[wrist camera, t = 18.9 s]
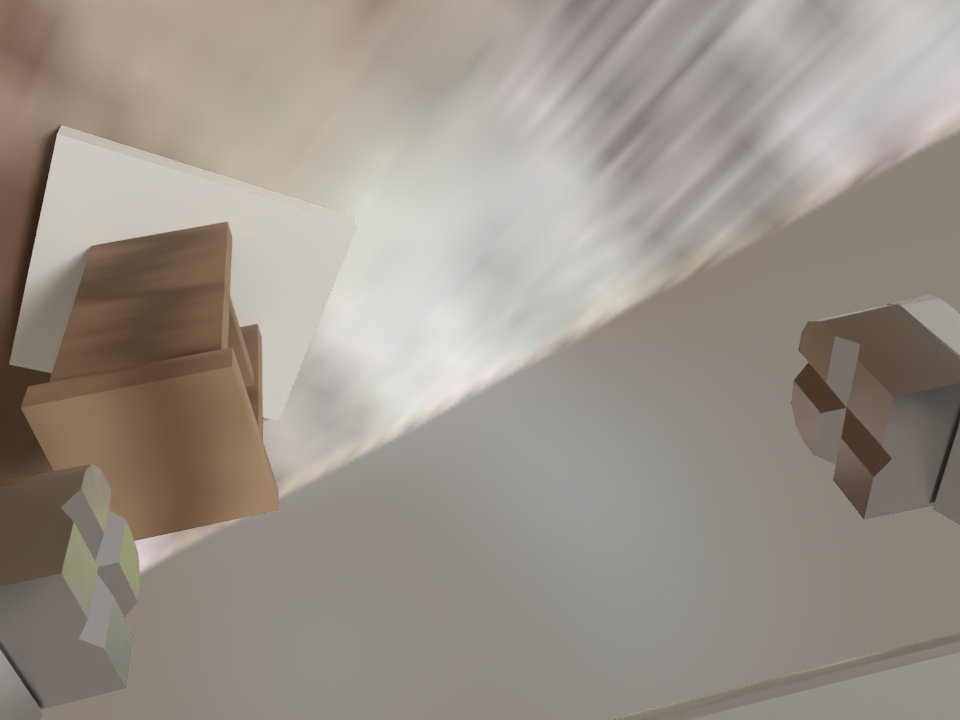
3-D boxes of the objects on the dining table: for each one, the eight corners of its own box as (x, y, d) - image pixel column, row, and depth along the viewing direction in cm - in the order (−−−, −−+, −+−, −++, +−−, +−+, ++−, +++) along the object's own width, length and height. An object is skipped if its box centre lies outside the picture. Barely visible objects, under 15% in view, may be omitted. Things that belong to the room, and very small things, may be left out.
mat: (13, 352, 43) (9, 364, 42) (61, 125, 37) (57, 133, 36) (278, 409, 48) (278, 420, 47) (354, 216, 42) (356, 226, 41)
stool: (129, 367, 43) (94, 549, 34) (77, 241, 39) (20, 407, 30) (273, 340, 44) (278, 509, 34) (237, 213, 40) (231, 366, 30)
